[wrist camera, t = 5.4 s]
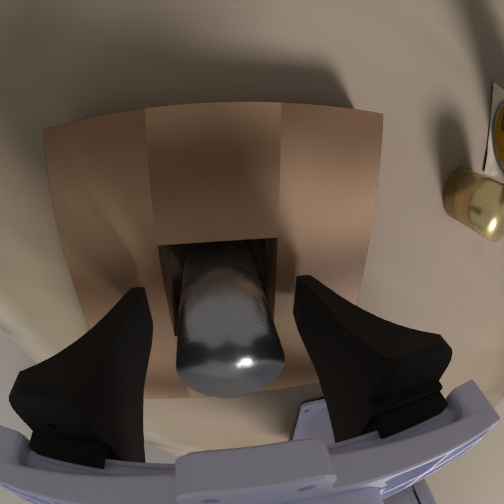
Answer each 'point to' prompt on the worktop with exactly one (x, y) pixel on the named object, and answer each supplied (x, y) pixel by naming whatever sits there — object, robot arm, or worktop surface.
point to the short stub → (475, 202)
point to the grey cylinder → (225, 323)
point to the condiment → (496, 136)
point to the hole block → (214, 208)
